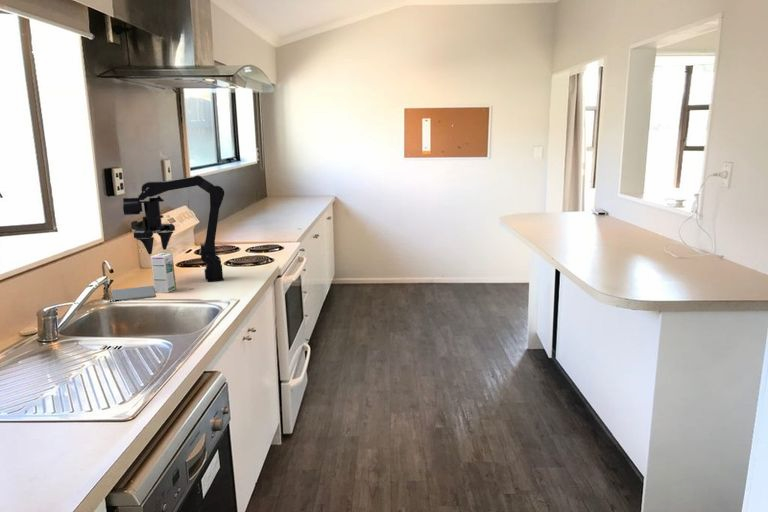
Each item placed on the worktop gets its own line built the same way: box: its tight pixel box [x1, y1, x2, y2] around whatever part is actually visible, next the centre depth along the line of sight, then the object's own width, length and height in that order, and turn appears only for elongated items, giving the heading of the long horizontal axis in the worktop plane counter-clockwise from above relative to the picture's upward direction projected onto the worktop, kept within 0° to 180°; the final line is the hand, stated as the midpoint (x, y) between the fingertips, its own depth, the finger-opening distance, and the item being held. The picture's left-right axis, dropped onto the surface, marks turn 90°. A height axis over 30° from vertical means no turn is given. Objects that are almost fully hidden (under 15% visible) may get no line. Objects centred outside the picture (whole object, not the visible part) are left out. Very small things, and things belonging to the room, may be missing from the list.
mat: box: [107, 285, 156, 302], centre depth 211 cm, size 16×16×1 cm
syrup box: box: [151, 252, 177, 294], centre depth 214 cm, size 6×6×14 cm
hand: (157, 251), depth 223 cm, fingers open, 9 cm apart
